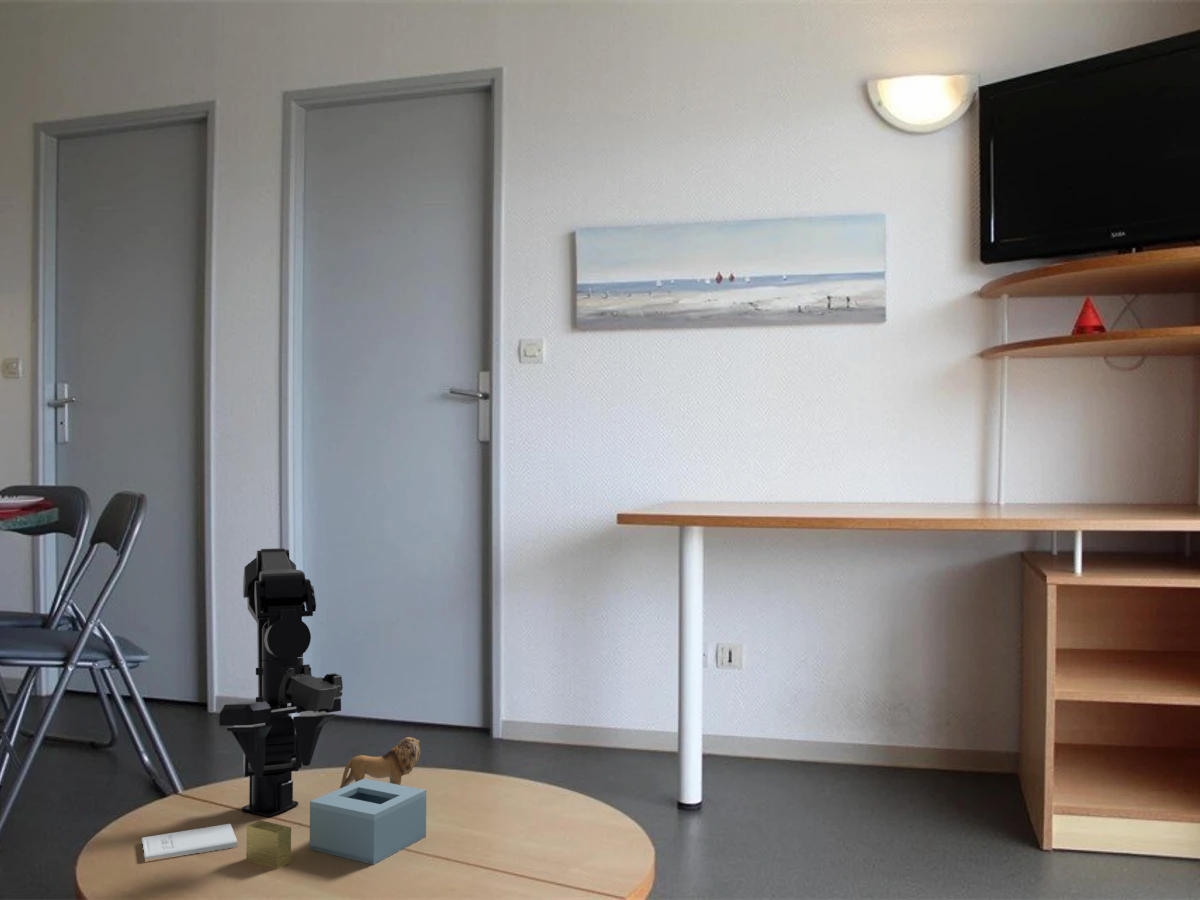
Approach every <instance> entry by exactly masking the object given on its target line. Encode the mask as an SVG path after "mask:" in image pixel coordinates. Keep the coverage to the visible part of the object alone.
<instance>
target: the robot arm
mask: <svg viewBox="0 0 1200 900" xmlns="http://www.w3.org/2000/svg"><path fill="white" fill-rule="evenodd" d="M242 580H243V584H242V591H243V592H242V595H243V596H242V597H243V598H244V599H247V602H246V603H247V605H246V606H247V610H248V612H249V613H250V615H251V616H252V618H253V620H255V622H256V624H257V625H256V627H257V628H256V630H257V631H256V632H257V633H256V634H257V635H256V636H257V638H256V639H257V667H256V668H255V676H257V696H255V701H246V702H244V701H243V702H236V703H228V704H224V705H223V706H222V708H221V709H220V711H219V718H218V719H219V726H220V727H221V726H227V727H226V731H227V732H231V733H232V735H233V737H234V738H235V740H236V741H237V743H238V745H239V746H240V748H241V750H242V752H243V753H242V754H243V755H242V760H243V761H242V771H243V776H244V778H249V794H248V795H249V797H248V800H249V801H248V802H249V803H248V804H247V805H244V806H242V807H241V811H244V812H247V813H252V814H256V815H259V816H266V817H272V816H276V815H278V814H279V813H282V812H285V811H288V810H289V809H292V808H295V807H297V806H299V801H297V800H294V798H293V797H294V781H293V779H292V777H293V776H292V775H293V774H292V773H293V772H299V770H300V769H301V768H302V767H308V766H311V762H312V759H313V756H314V753H315V750H316V746H317V744H318V740H319V738H320V735H321V733H322V730H323V727H324V726H325V725H326V724H328V722H330V720H331V719H334V718H335V716H336V714H335V712H341V711H342V698H341V697H343V688H344V687H343V677H342V675H340V674H338V673H336V672H335V673H334V672H333V673H327V674H326V675H324V677H316V676H313V675H312V667H311V665H310V663H309V664H304V654H305V653H306V651H307V650H308V649H309V647H310V644H311V640H312V634H311V631H310V629H309V627H308V625H307V624H306V623H305V622H304V621H303V618H305V617H306V618H307V617H314V616H313V615H314V612H317V611H316V609H317V602H316V595H315V587H314V585H312V583H311V582H312V581H311V580H310V579H309V578H307V577H306V575H305V572H304V571H302V570H301V569H297V565H296V564H295V563H294V562H293V561H292V560H291V558H290V550H289V549H285V548H284V547H282V548H279V547H278V548H276V547H275V548H261V549H260V550H256V557H254V559H253V560H252V561H250V562H249V563H247V564H246V565H245V566H244V569H243V579H242ZM288 704H290V705H288ZM331 713H332V714H331ZM291 714H299V715H297V716H293V717H292V716H291Z"/></svg>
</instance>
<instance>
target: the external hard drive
mask: <svg viewBox="0 0 1200 900" xmlns="http://www.w3.org/2000/svg"><path fill="white" fill-rule="evenodd" d="M142 844H143V848H142V851H143V850H144V853H143V858H144V857H145V859H151V858H162V857H171V856H177V855H178V856H179V855H187V854H194V855H196V854H195V853H200V854H202V853H201V852H206V853H209V851H212V852H216V851H215V850H218V851H222V849H224V850H229V849H228V848H230V849H233V848H234V847H236V848H238V839H237V837H236V834H235V832H234V829H233V826H232V824H231V823H226V824H218V825H214V826H213V825H212V826H208V827H207V826H206V827H202V828H201V827H200V828H194V829H188V830H181V831H174V832H169V833H163V834H156V835H151V836H150V835H149V836H144V837H141V845H142Z"/></svg>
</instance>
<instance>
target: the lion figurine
mask: <svg viewBox="0 0 1200 900" xmlns="http://www.w3.org/2000/svg"><path fill="white" fill-rule="evenodd" d="M420 756H421V748H420V740H419V739H416V738H414V737H411V736H410V737H409V736H407V737H405V738H403V739H401V740H400V741H399V743H398V744H397V745H395V746H394V747H392V748H391V749H389V750H388V752H386V753H385V754H384V755H381V756H369V755H363V754H361V755H357V756H354V757H352V758H351V759H350V760H349V761H348V762H347V764H346V766H345V768H344V771H343V775H342V779H341V784H340V787H339V789H340V788H343V787H345V786H347V785H350V784H352V783H355V782H357V781H359V780H362V779H364V778H365V775H367V776H370V778H374V779H386V778H389V783H392V784H397V785H401V783H402V776H403V777H404V776H407V775H409V774H410V773H411V772H412V771H413V768H414V767H415V766H416V765H417V764H418V762H419V760H420ZM349 770H350V771H349Z"/></svg>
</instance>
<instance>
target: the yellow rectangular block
mask: <svg viewBox="0 0 1200 900" xmlns="http://www.w3.org/2000/svg"><path fill="white" fill-rule="evenodd" d="M245 851H246V853H245V854H246V859H245V860H246V861H247V862H249V863H254V864H258V865H260V866H261V865H262V866H265V867H270V868H272V869H281V868H282V867H284V866H286V865H288V864H290V863H292V827H291V826H287V825H283V824H278V823H274V822H270V821H265V820H257V821H255V822H253V823H251V824H248V825H246V850H245Z"/></svg>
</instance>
